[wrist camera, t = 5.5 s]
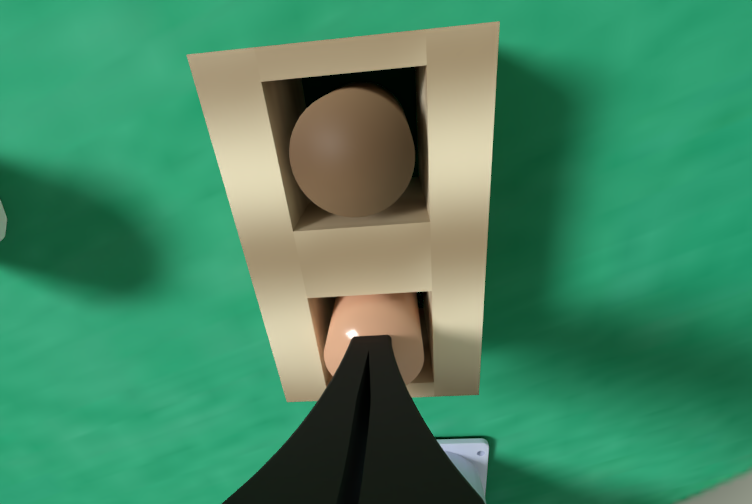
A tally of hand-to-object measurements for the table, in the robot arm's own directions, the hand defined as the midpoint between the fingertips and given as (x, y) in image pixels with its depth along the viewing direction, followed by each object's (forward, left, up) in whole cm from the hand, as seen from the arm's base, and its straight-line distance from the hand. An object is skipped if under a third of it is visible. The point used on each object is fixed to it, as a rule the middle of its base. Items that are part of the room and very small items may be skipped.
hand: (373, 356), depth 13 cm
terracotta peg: (0, 0, -5) cm, 5 cm away
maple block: (+3, 0, -6) cm, 7 cm away
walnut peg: (+7, 0, -5) cm, 9 cm away
